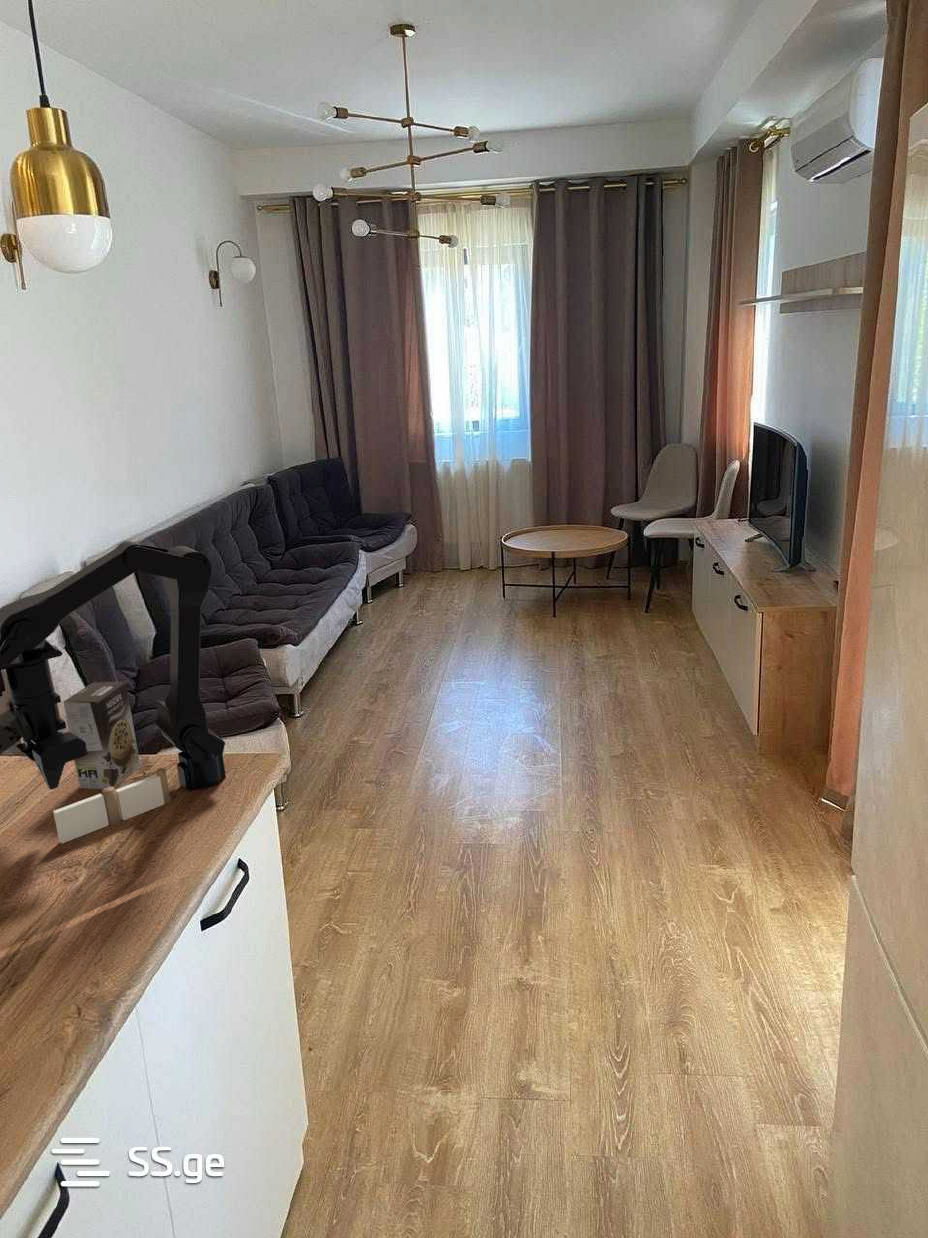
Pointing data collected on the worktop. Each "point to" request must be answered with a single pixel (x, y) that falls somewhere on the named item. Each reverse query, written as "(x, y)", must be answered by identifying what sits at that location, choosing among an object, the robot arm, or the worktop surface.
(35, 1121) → the worktop surface
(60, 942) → the worktop surface
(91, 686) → the coffee box
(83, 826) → the fence gate panel
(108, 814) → the fence post and panel
